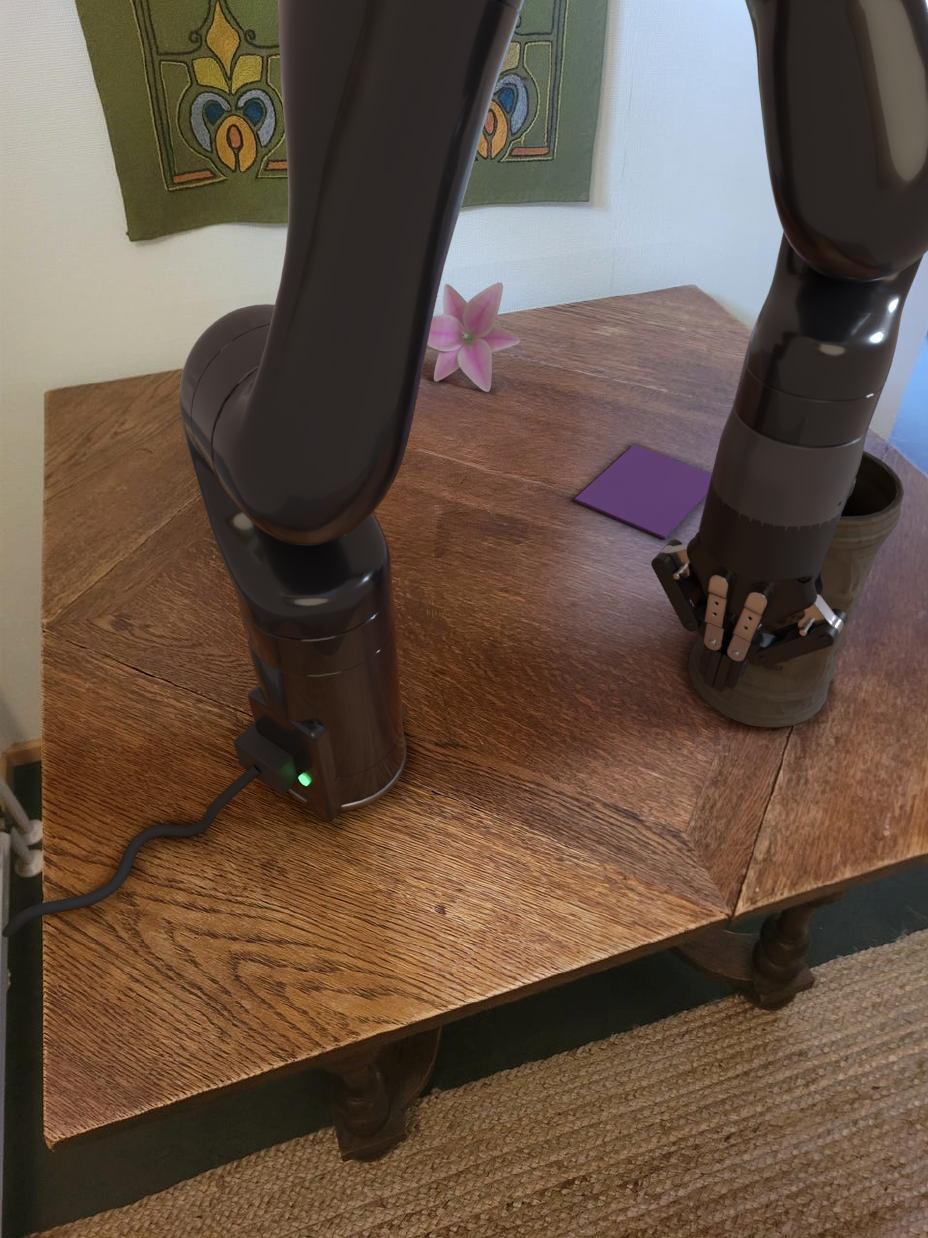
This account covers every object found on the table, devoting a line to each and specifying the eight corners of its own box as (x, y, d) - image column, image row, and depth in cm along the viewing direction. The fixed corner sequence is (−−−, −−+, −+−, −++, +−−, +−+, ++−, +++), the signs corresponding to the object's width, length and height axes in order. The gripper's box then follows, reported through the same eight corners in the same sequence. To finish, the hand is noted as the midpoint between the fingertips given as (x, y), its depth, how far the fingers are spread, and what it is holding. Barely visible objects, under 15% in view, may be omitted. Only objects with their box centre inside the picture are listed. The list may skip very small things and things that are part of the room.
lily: (400, 367, 108) (392, 321, 98) (464, 304, 110) (461, 253, 100) (474, 425, 105) (472, 382, 96) (537, 359, 107) (541, 311, 98)
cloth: (664, 539, 82) (665, 537, 82) (574, 500, 87) (574, 498, 86) (720, 479, 89) (720, 477, 89) (633, 446, 94) (634, 444, 93)
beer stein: (833, 748, 65) (931, 525, 52) (686, 725, 66) (746, 503, 53) (812, 617, 76) (889, 407, 63) (688, 599, 78) (738, 391, 65)
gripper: (644, 471, 51) (610, 671, 63) (873, 560, 45) (786, 761, 57) (702, 415, 55) (660, 612, 67) (918, 490, 49) (828, 691, 61)
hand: (718, 680), depth 62 cm, fingers closed
